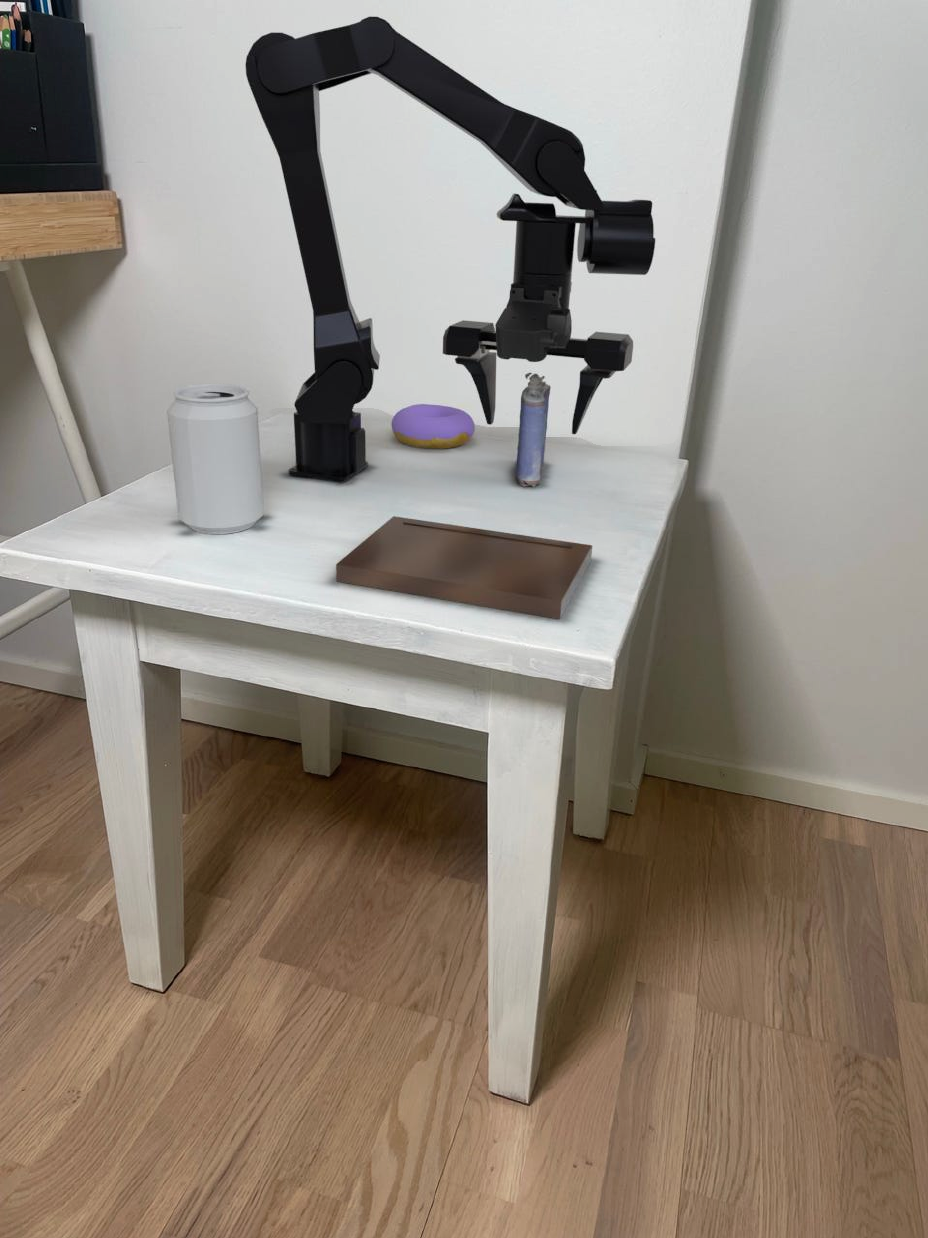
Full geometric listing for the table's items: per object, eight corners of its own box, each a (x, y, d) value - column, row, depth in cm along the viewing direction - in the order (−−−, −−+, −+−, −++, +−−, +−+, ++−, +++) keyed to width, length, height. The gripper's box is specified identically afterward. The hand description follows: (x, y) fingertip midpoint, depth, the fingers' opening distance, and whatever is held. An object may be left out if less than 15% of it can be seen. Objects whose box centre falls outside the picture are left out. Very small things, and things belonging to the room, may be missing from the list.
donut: (380, 444, 107) (382, 401, 105) (401, 441, 115) (404, 401, 114) (464, 452, 105) (467, 409, 104) (479, 448, 114) (483, 408, 112)
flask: (539, 487, 95) (547, 383, 91) (511, 485, 96) (517, 381, 91) (545, 463, 104) (552, 366, 99) (519, 461, 104) (525, 364, 99)
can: (279, 515, 85) (272, 385, 80) (236, 542, 79) (225, 402, 74) (209, 504, 87) (198, 376, 82) (161, 530, 81) (146, 392, 76)
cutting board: (336, 581, 72) (335, 562, 72) (393, 531, 83) (393, 514, 82) (559, 619, 68) (561, 599, 67) (591, 561, 78) (592, 543, 77)
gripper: (425, 272, 86) (422, 436, 93) (624, 286, 81) (605, 459, 88) (462, 263, 96) (457, 412, 103) (641, 275, 91) (624, 431, 98)
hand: (531, 428), depth 98 cm, fingers open, 9 cm apart
